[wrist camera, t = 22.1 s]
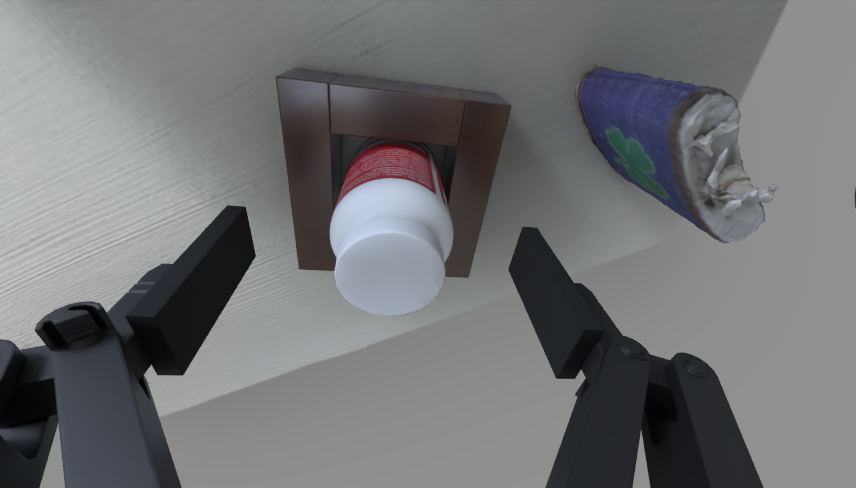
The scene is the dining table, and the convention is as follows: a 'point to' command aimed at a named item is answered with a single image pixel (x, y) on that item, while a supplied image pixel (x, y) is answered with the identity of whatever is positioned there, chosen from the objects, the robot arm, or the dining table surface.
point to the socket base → (395, 120)
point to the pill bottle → (391, 229)
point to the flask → (675, 147)
